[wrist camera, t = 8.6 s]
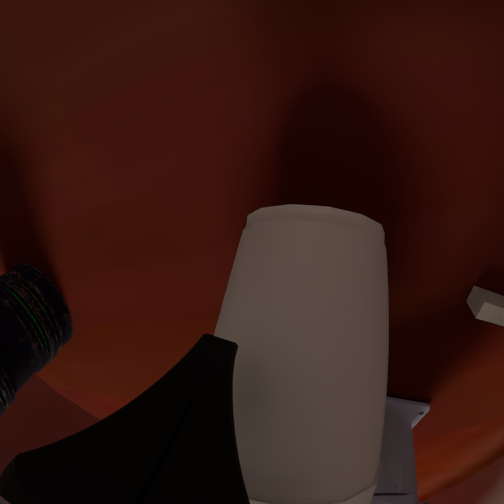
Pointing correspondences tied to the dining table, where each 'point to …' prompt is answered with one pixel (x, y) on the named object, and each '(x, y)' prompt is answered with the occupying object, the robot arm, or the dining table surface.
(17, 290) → the green-striped black cylinder
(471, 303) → the bay
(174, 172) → the dining table surface
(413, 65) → the dining table surface
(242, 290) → the foam cup
